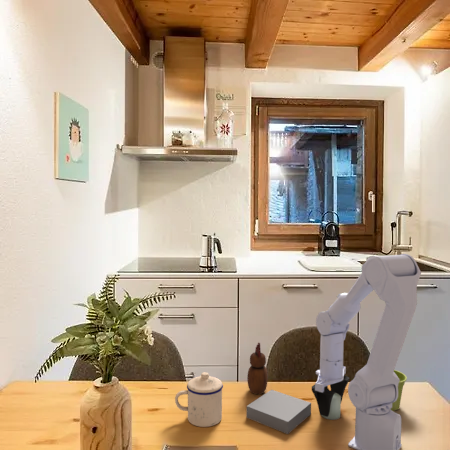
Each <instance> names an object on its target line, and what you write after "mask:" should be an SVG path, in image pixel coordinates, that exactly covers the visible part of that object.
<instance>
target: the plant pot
mask: <svg viewBox="0 0 450 450" xmlns="http://www.w3.org/2000/svg"><path fill="white" fill-rule="evenodd" d="M394 373H395V374H396V375H397V376H398V378H399V380H400V381H399V384H398V398H397V400H396V401H395V402H394V403H392V408H391V410H392V411H393V412H395V411H396V410H400V406H401V400H402V396H403V395H402V394H403V388H404V386H405V383H406V381H407V379H408V377H407V375H406V374H404V373H403V372H401V371H400V370H396V369H394Z"/></svg>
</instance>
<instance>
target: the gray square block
mask: <svg viewBox="0 0 450 450" xmlns="http://www.w3.org/2000/svg"><path fill="white" fill-rule="evenodd" d="M245 410H246V411H245V412H246V415H245V417H246V418H247V419H249V420H252V421H254V422H257V423H259V424H261V425H263V426H265V427H266V426H267V427H269V428H272V429H275V430H277V431H279V432H281V433H284V434H286V435H289V434H290V433H291V432H292V431H293V430H294V429H296V428H297V427H298V426H299V425H300V424H302V423H303V422H304V421H305V420H306V419H308V417H309V416H311V415H312V402H311V401H306V400H303V399H301V398H298V397H296V396H295V397H294V396H291V395H289V394H286V393H283V392H280V391H277V390H274V389H270V390H269V391H267V392H266V393H263V395H261V396H260V397H258V398H256V399H255V400H254V401H252V402H251V403H249V404H248V405H247V404H246V409H245Z"/></svg>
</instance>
